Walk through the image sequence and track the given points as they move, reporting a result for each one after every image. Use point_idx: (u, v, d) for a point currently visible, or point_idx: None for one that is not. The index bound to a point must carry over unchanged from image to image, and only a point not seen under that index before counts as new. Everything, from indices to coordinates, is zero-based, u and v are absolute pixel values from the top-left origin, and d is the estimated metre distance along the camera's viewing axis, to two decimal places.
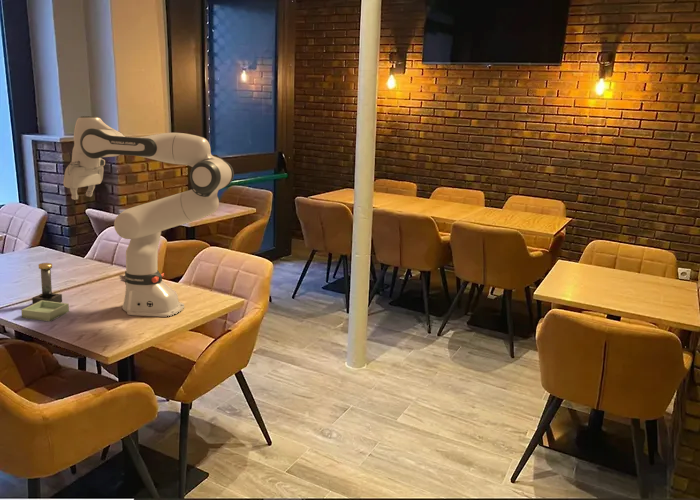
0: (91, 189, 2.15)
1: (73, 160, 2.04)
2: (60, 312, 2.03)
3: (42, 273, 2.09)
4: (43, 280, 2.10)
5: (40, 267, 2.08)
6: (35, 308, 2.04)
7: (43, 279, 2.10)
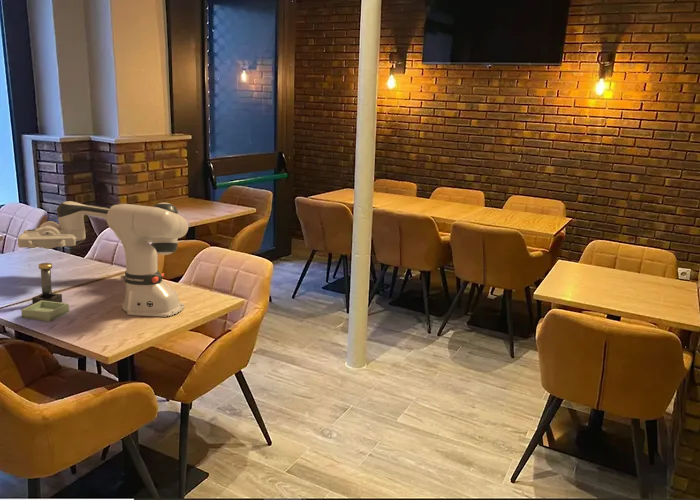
0: None
1: (58, 232, 2.33)
2: (60, 312, 2.03)
3: (42, 273, 2.09)
4: (43, 280, 2.10)
5: (40, 267, 2.08)
6: (35, 308, 2.04)
7: (43, 279, 2.10)
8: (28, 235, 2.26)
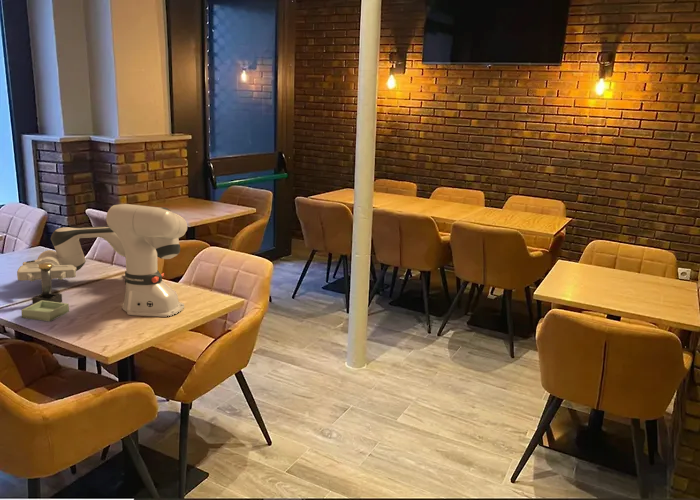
0: None
1: (58, 262, 2.30)
2: (60, 312, 2.03)
3: (42, 273, 2.09)
4: (43, 280, 2.10)
5: (40, 267, 2.08)
6: (35, 308, 2.04)
7: (43, 279, 2.10)
8: (27, 267, 2.23)
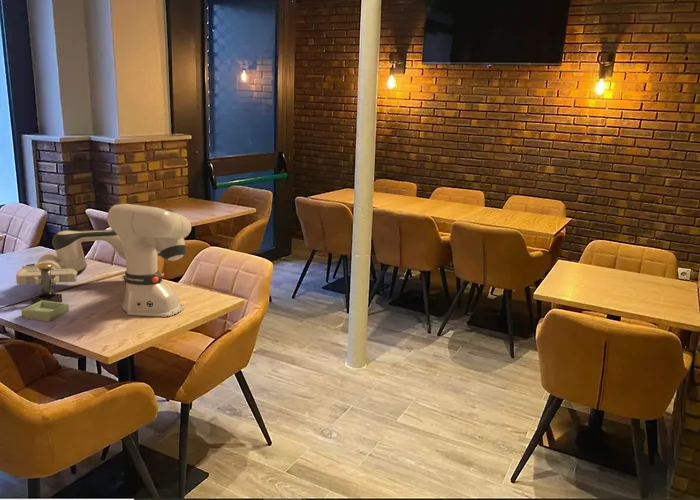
0: None
1: (58, 266, 2.24)
2: (60, 312, 2.03)
3: (42, 273, 2.09)
4: (43, 280, 2.10)
5: (40, 267, 2.08)
6: (35, 308, 2.04)
7: (43, 279, 2.10)
8: (27, 271, 2.17)
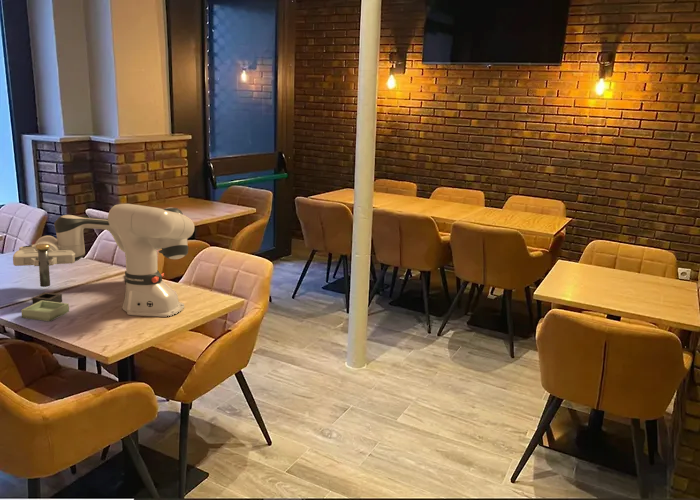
0: None
1: (56, 247, 2.19)
2: (60, 312, 2.03)
3: (39, 254, 2.05)
4: (40, 261, 2.05)
5: (37, 248, 2.04)
6: (35, 308, 2.04)
7: (40, 260, 2.05)
8: (24, 252, 2.12)
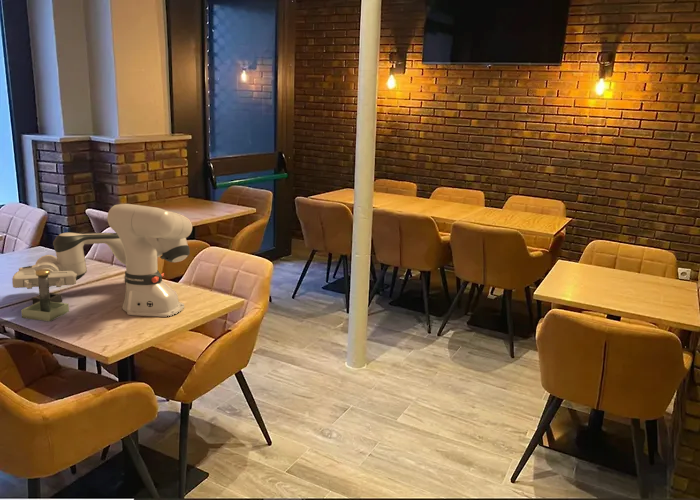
0: None
1: (57, 268, 2.13)
2: (60, 312, 2.03)
3: (39, 280, 1.99)
4: (40, 287, 1.99)
5: (37, 274, 1.97)
6: (35, 308, 2.04)
7: (40, 286, 1.99)
8: (24, 273, 2.06)
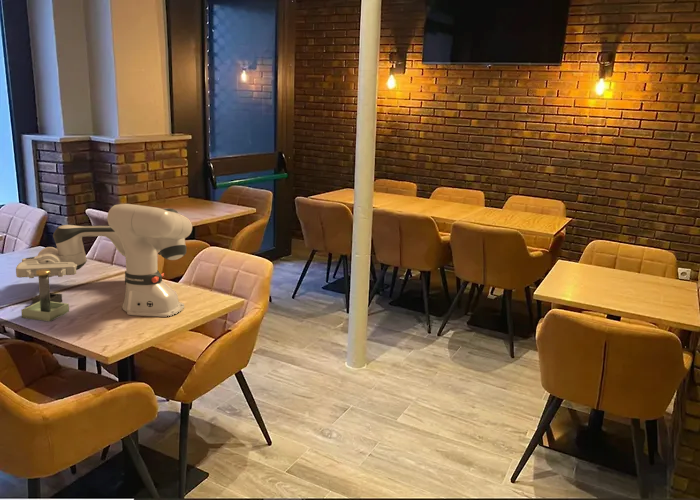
0: None
1: (58, 259, 2.24)
2: (60, 312, 2.03)
3: (40, 280, 1.99)
4: (41, 287, 1.99)
5: (38, 273, 1.98)
6: (35, 308, 2.04)
7: (41, 286, 1.99)
8: (27, 264, 2.17)
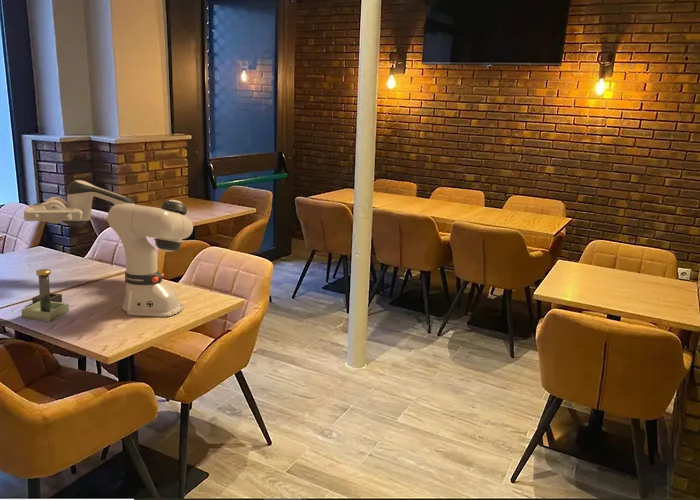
0: None
1: (64, 206, 2.31)
2: (60, 312, 2.03)
3: (40, 280, 1.99)
4: (41, 287, 1.99)
5: (38, 273, 1.98)
6: (35, 308, 2.04)
7: (41, 286, 1.99)
8: (34, 209, 2.24)
